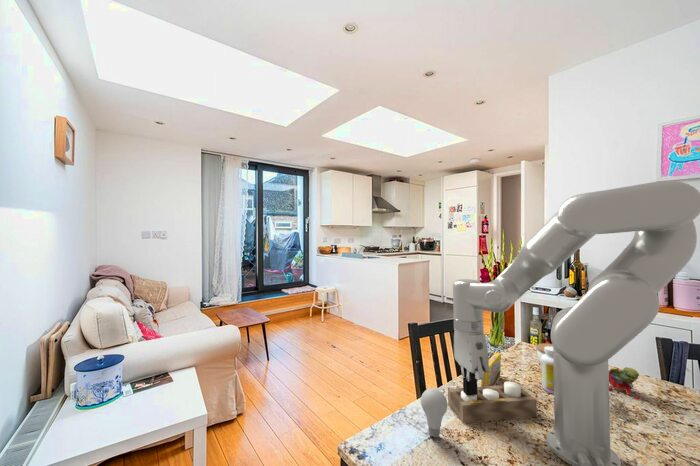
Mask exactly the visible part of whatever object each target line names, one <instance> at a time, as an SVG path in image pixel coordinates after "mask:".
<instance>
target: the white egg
mask: <svg viewBox="0 0 700 466" xmlns="http://www.w3.org/2000/svg"><path fill="white" fill-rule="evenodd" d="M461 398H462V399H463V400H464V401H465V402H467V401H476V400H477V395H466V394H465V393H464V392H463V391H461Z"/></svg>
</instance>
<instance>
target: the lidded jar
mask: <svg viewBox="0 0 700 466" xmlns="http://www.w3.org/2000/svg"><path fill="white" fill-rule="evenodd" d="M546 346H551V347H553V344H552V343H547V342H546V343H538V344H537V345H536V354H537V359H538V362H539V363H540V364H541V356H542V355H544V354H545V351H544V347H546Z"/></svg>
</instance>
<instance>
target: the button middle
mask: <svg viewBox="0 0 700 466" xmlns="http://www.w3.org/2000/svg"><path fill="white" fill-rule="evenodd" d="M483 396H484V397H485V398H487V399H488V400H491V399H499V393H498V392H497V391H495V390H493V389H483Z"/></svg>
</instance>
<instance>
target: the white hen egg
mask: <svg viewBox="0 0 700 466" xmlns="http://www.w3.org/2000/svg"><path fill="white" fill-rule="evenodd" d="M503 385H504V393H505V394H506V395H507V396H509V397H510V398H516V397H521V389H522V387H521V385H520V384H519V383H516V382H513V381H504V383H503Z"/></svg>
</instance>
